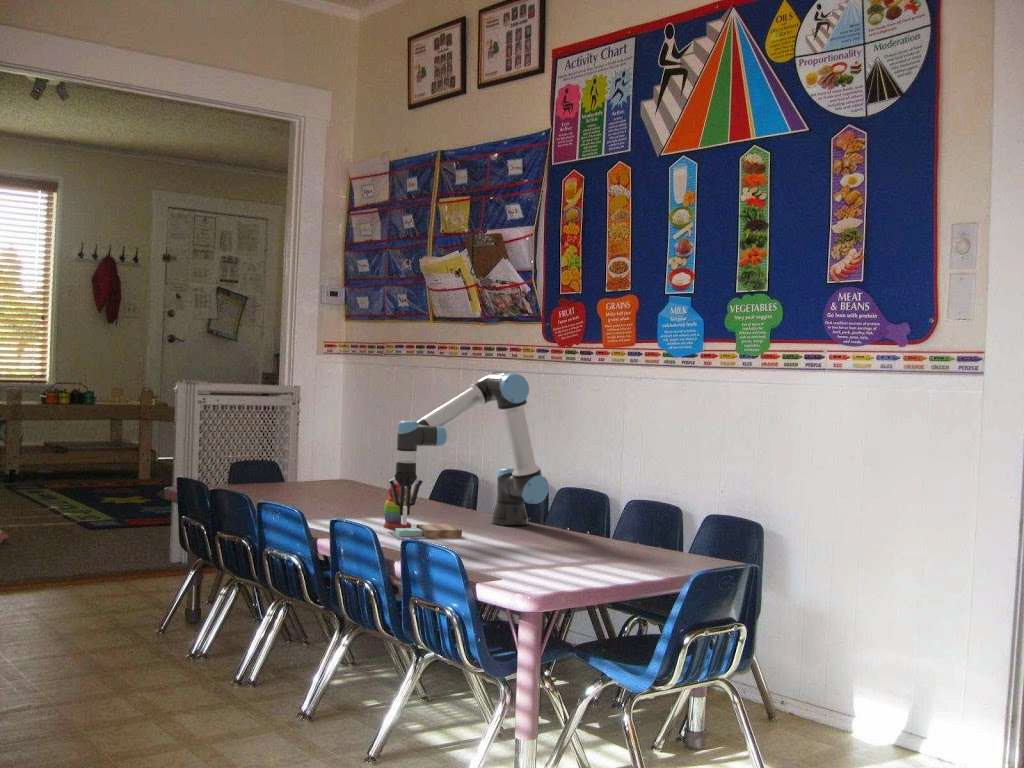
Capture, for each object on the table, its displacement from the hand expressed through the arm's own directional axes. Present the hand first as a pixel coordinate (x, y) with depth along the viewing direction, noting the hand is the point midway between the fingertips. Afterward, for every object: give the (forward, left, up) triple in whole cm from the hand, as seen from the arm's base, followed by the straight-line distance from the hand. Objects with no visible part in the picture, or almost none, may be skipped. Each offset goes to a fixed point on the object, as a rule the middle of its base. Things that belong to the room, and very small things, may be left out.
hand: (403, 523), depth 417 cm
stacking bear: (-2, -19, -5) cm, 20 cm away
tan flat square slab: (-14, 0, -4) cm, 15 cm away
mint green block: (-2, 0, -4) cm, 5 cm away
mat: (-1, 0, -4) cm, 5 cm away
